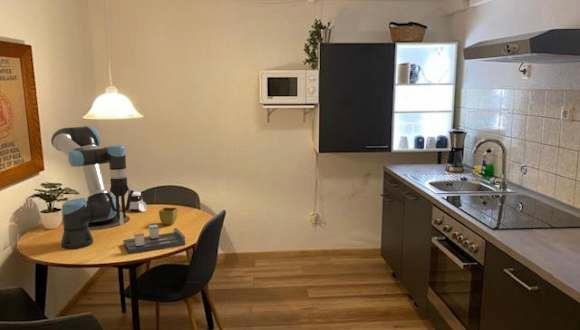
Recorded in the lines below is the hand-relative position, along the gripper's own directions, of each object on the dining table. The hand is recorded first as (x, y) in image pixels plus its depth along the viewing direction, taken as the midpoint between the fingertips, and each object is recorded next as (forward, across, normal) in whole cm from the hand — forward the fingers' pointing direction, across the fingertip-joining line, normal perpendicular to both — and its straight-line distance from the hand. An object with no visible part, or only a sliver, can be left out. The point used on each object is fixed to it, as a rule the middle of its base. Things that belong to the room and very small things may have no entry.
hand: (121, 224), depth 227 cm
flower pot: (+14, +32, +38) cm, 51 cm away
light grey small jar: (+12, +17, +8) cm, 22 cm away
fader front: (+12, +8, 0) cm, 14 cm away
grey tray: (+14, +16, +4) cm, 22 cm away
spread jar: (+14, +22, +78) cm, 82 cm away
